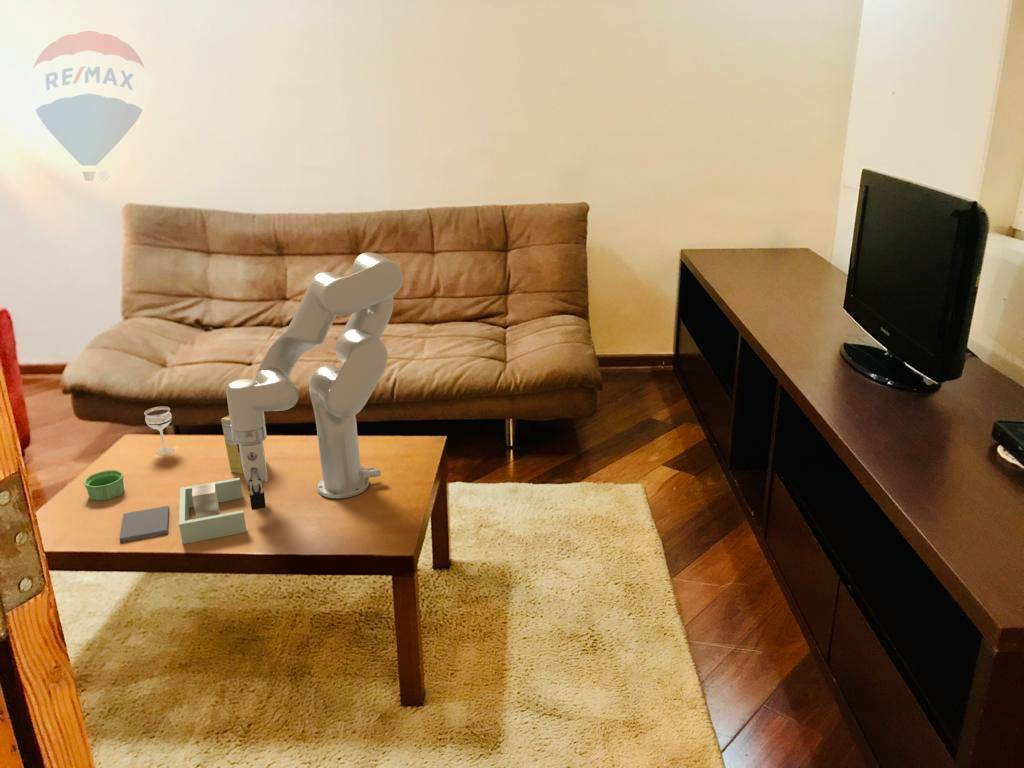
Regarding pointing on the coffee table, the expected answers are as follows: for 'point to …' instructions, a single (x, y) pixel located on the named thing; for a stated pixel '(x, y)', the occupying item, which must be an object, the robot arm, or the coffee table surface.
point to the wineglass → (159, 424)
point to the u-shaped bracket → (212, 524)
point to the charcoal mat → (144, 523)
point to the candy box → (231, 447)
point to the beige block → (205, 500)
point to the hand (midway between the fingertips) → (257, 499)
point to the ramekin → (104, 485)
